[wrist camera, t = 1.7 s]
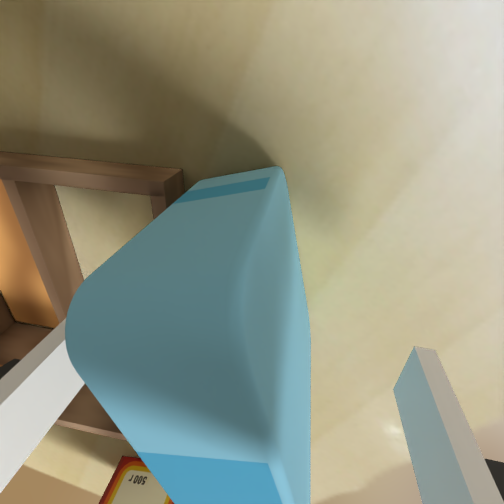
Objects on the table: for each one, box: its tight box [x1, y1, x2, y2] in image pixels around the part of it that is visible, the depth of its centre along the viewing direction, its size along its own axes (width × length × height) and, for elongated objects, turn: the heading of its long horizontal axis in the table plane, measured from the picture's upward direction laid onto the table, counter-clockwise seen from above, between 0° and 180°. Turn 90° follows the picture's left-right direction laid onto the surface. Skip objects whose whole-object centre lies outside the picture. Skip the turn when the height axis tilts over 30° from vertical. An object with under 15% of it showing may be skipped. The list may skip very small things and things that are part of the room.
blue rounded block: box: [65, 166, 311, 504], centre depth 13 cm, size 12×4×12 cm, turn 13°
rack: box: [0, 152, 184, 441], centre depth 19 cm, size 18×17×7 cm
